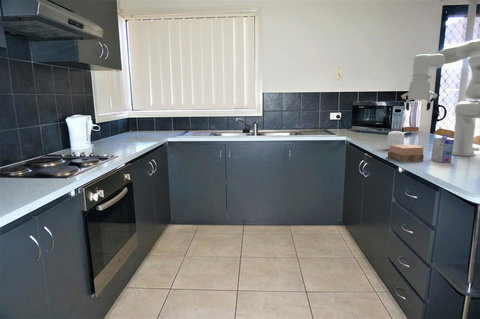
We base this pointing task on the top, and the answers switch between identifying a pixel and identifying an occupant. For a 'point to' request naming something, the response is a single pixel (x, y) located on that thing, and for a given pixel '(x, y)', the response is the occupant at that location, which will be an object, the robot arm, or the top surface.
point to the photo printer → (395, 138)
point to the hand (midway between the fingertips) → (417, 110)
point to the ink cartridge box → (442, 149)
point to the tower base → (405, 157)
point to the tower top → (406, 149)
